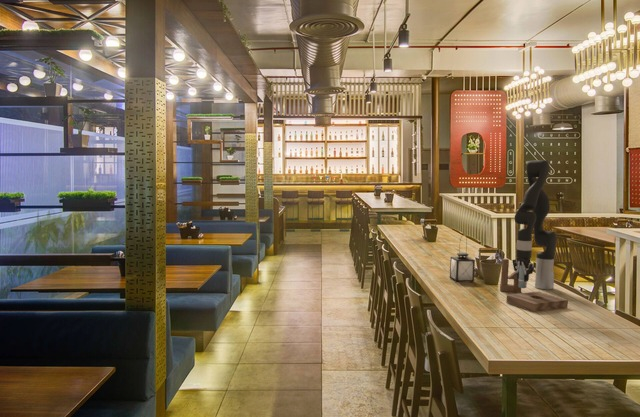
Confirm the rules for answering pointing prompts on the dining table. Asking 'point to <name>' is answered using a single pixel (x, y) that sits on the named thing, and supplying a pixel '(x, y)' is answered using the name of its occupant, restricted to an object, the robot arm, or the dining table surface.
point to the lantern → (462, 267)
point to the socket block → (537, 301)
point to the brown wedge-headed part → (504, 278)
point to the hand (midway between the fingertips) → (522, 280)
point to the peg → (521, 278)
